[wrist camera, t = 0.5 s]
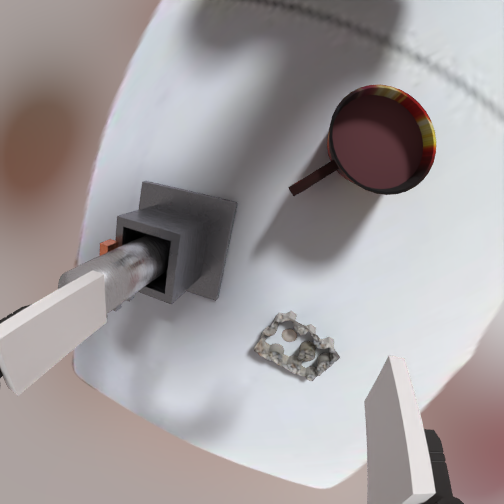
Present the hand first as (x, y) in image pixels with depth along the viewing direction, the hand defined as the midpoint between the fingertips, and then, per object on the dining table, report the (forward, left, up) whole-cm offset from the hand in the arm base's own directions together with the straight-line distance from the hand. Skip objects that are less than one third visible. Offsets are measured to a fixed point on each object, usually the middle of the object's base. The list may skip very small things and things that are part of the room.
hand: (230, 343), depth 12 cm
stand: (+6, -15, -28) cm, 32 cm away
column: (+7, -15, -26) cm, 31 cm away
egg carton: (+16, +5, -28) cm, 33 cm away
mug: (-10, +6, -28) cm, 30 cm away
